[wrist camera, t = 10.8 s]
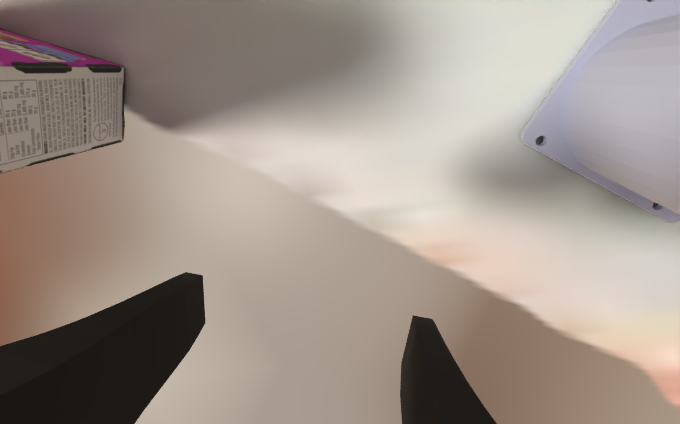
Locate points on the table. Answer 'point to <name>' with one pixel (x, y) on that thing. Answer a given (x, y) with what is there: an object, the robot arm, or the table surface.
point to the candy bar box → (55, 102)
